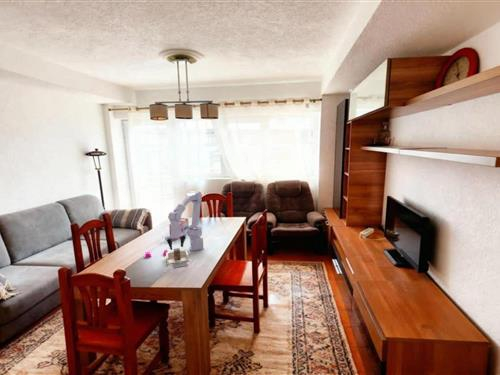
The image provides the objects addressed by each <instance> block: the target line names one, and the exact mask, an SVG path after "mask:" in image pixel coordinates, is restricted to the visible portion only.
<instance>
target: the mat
mask: <svg viewBox="0 0 500 375" xmlns="http://www.w3.org/2000/svg"><path fill="white" fill-rule="evenodd" d="M172 266H173V269H179V268H184V267H188V266H189V265H188V262H187V261H183V262H178V263H172Z"/></svg>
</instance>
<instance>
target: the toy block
mask: <svg viewBox="0 0 500 375" xmlns="http://www.w3.org/2000/svg"><path fill="white" fill-rule="evenodd" d="M167 252H169V251H168V249H164V250H163V253H162V256H166V253H167ZM144 253H145V256H144V257H145V259H147V258H152V254H151V253H150V251H146V252H144Z"/></svg>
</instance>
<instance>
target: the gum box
mask: <svg viewBox="0 0 500 375" xmlns="http://www.w3.org/2000/svg"><path fill="white" fill-rule="evenodd" d="M179 224H180V233H186V235H188V234H187V232H188V229H189V226H190V225H189V218H184V217H183V218H182V217H181V218H180V220H179ZM170 235H171V223H170V224H169V236H170ZM173 240H176V241H177V240H180V237H178V238H174V239H173Z"/></svg>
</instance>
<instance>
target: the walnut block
mask: <svg viewBox="0 0 500 375" xmlns="http://www.w3.org/2000/svg"><path fill="white" fill-rule="evenodd" d="M172 250H173V252H174V260H175V261H176V260H181V258H180V250H181V248H180V247H178V248H172Z"/></svg>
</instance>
